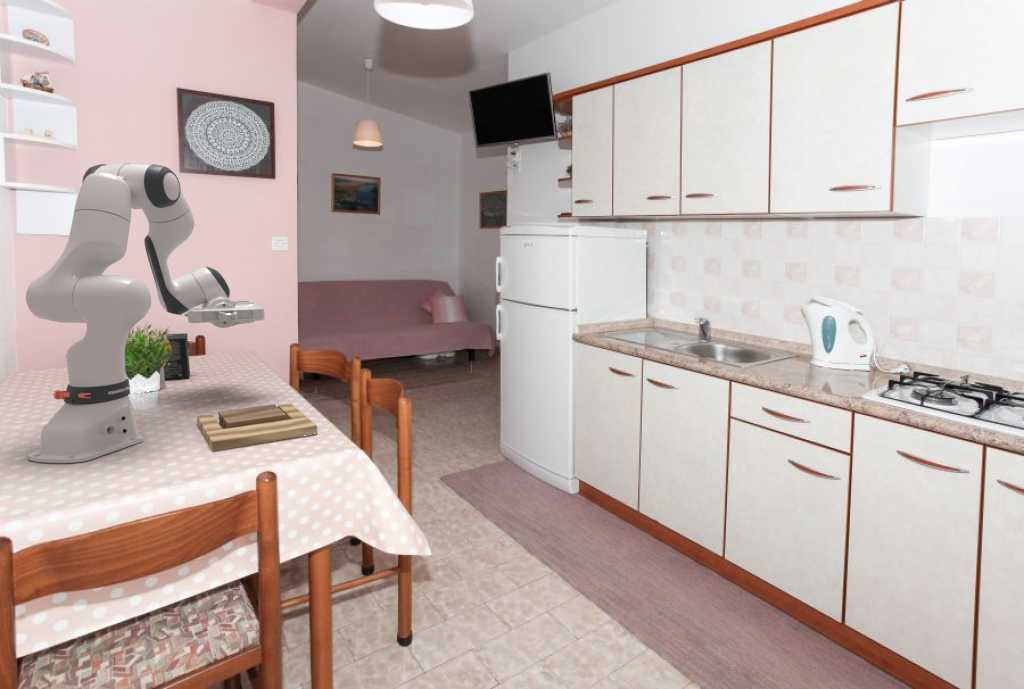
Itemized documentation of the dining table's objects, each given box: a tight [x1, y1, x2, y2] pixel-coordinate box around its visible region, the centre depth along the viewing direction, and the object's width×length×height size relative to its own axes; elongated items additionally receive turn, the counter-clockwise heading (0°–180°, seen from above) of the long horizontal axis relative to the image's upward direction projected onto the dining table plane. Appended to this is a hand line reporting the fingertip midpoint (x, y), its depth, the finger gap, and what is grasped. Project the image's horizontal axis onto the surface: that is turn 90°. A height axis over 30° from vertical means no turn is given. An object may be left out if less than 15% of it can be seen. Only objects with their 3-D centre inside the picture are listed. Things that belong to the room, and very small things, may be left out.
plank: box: [218, 404, 287, 429], centre depth 157 cm, size 4×14×12 cm
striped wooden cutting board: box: [196, 402, 318, 452], centre depth 154 cm, size 25×24×2 cm
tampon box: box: [164, 332, 191, 382], centre depth 210 cm, size 11×9×15 cm
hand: (230, 316), depth 170 cm, fingers closed
